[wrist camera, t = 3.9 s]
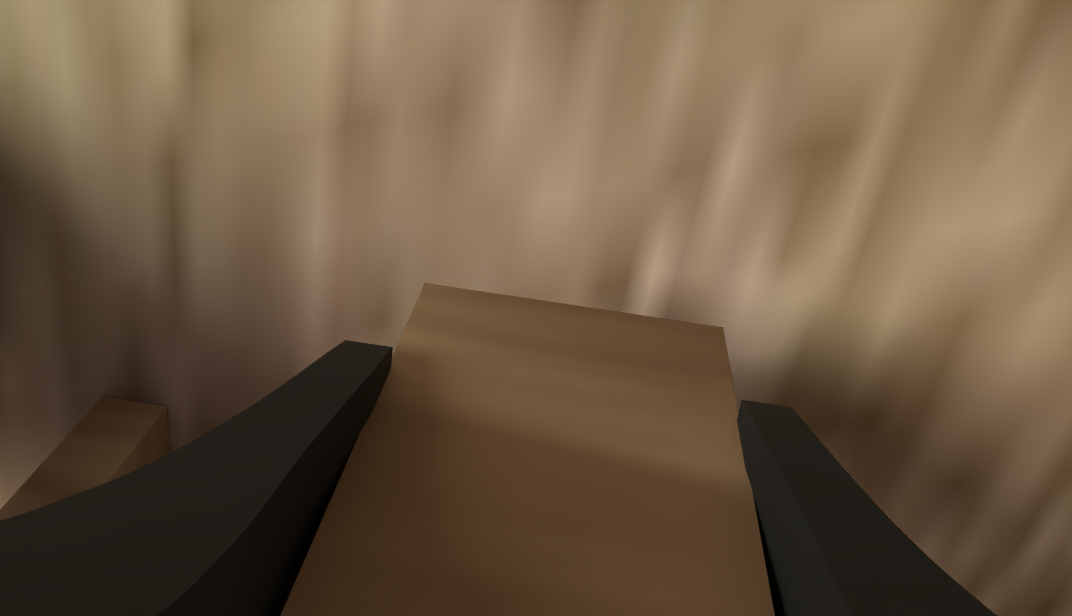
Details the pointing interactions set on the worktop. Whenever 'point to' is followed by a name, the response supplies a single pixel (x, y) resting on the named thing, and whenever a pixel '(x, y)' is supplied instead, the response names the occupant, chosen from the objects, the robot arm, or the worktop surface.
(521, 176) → the worktop surface
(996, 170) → the worktop surface
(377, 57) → the worktop surface
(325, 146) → the worktop surface
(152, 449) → the domino
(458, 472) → the domino
